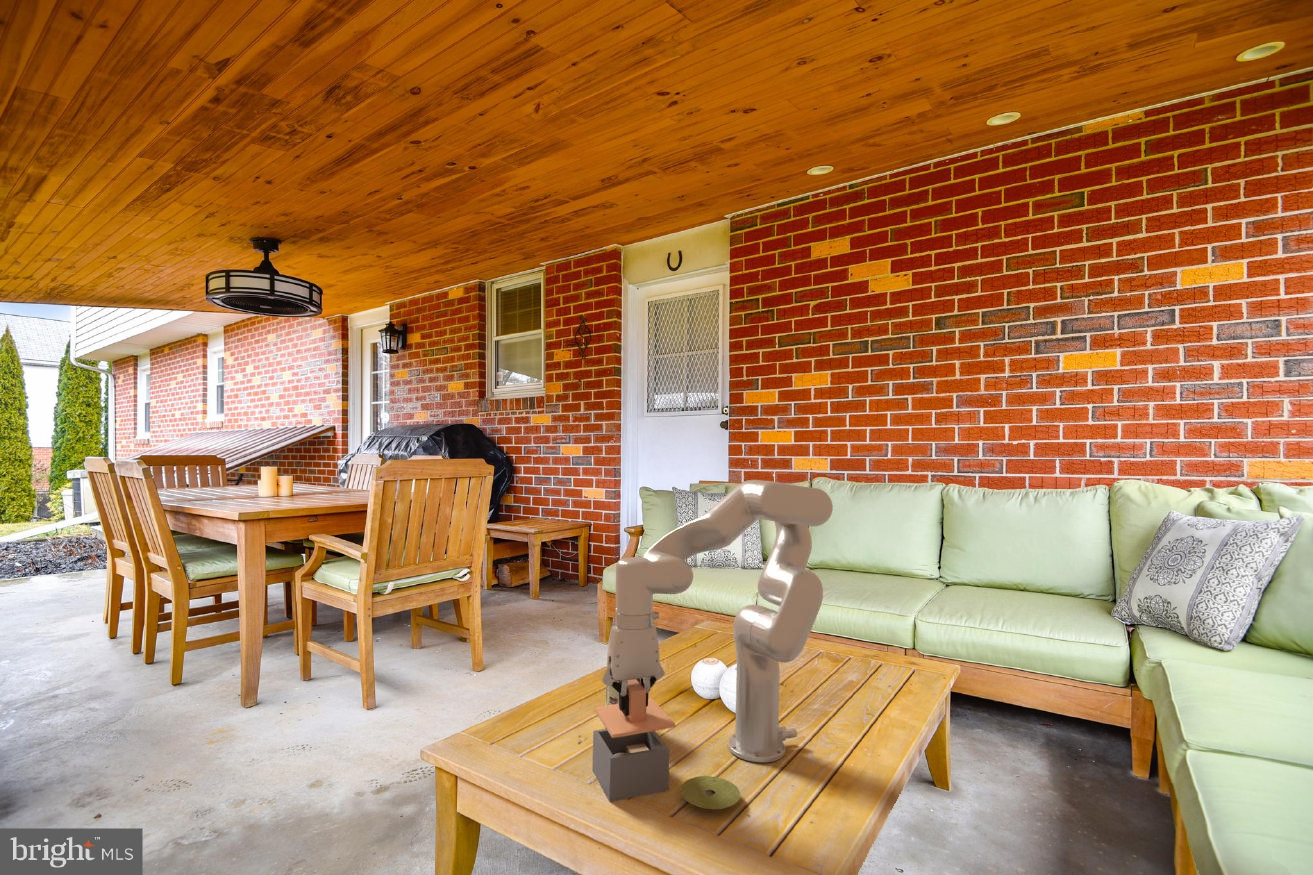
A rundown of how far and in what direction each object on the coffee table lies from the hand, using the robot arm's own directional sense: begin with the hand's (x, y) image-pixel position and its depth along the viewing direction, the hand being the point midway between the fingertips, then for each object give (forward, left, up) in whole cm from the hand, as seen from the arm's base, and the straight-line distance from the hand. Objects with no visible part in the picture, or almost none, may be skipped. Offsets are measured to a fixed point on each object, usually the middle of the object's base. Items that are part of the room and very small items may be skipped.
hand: (633, 710), depth 122 cm
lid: (0, 0, -2) cm, 2 cm away
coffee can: (-5, -20, -14) cm, 25 cm away
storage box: (+1, 0, -14) cm, 14 cm away
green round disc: (-11, +12, -14) cm, 22 cm away
